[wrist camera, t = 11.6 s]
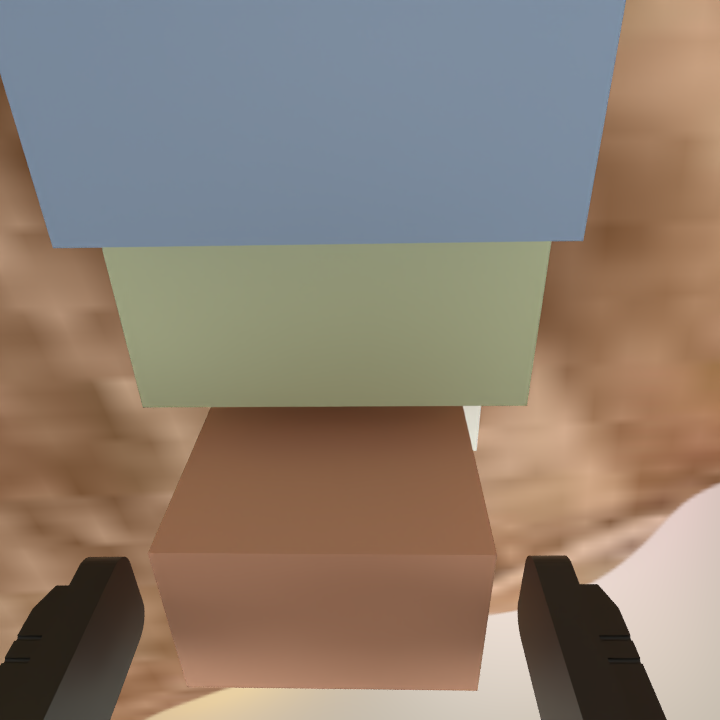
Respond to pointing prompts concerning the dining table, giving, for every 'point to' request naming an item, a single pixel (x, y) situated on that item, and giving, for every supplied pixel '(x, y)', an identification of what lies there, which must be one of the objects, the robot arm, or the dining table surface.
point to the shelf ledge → (317, 184)
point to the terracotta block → (328, 550)
